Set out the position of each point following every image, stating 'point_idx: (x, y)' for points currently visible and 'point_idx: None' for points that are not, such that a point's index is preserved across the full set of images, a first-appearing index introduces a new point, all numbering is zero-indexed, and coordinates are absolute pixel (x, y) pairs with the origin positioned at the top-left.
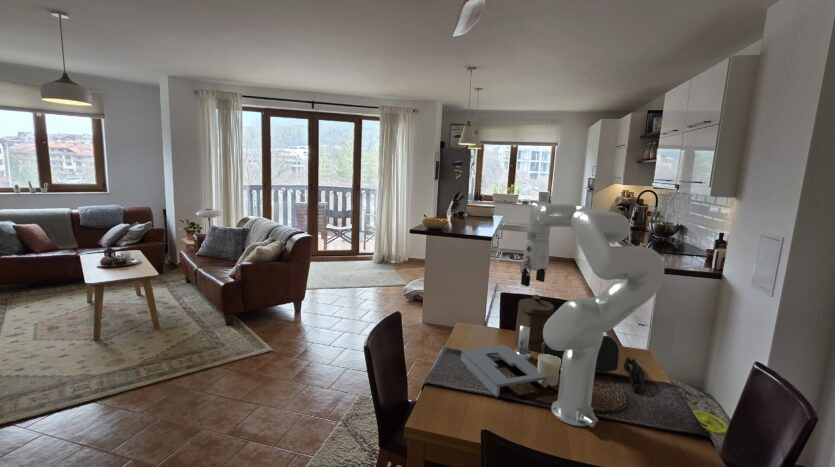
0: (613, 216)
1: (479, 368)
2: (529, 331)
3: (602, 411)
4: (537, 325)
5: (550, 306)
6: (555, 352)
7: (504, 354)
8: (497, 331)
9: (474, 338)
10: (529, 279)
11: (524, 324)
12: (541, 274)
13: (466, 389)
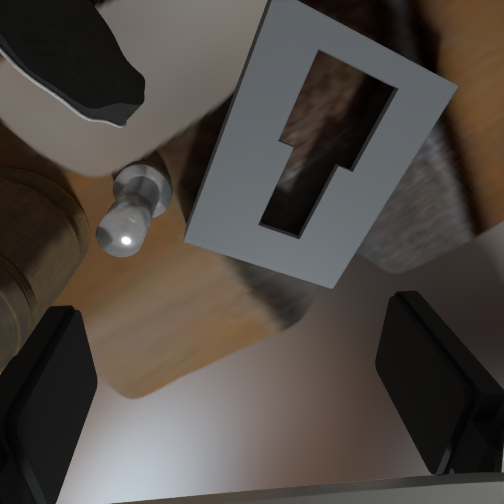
0: None
1: (390, 191)
2: (116, 209)
3: None
4: (17, 230)
5: None
6: (104, 60)
7: (252, 201)
8: None
9: (176, 335)
10: (461, 348)
11: (104, 250)
12: (50, 407)
13: (447, 165)
